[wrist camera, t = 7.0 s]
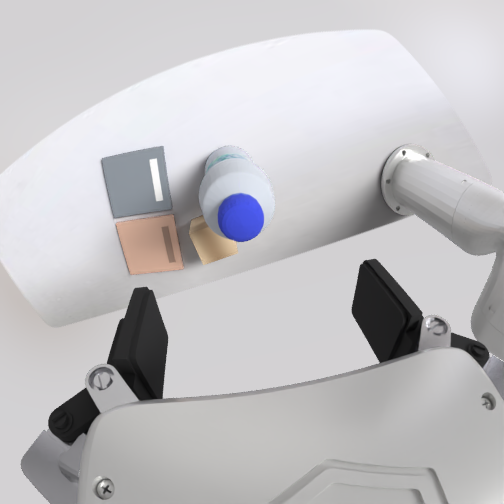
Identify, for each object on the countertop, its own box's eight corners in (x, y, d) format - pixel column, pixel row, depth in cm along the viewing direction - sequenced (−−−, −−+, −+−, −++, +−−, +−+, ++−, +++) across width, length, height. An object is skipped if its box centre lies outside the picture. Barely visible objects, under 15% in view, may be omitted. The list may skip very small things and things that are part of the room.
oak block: (223, 207, 39) (225, 220, 35) (235, 236, 42) (238, 253, 37) (191, 219, 39) (188, 234, 35) (204, 247, 42) (203, 264, 38)
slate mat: (163, 145, 34) (162, 146, 33) (172, 207, 38) (171, 209, 37) (103, 157, 33) (101, 158, 32) (115, 216, 37) (114, 218, 37)
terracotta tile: (173, 214, 39) (172, 216, 38) (183, 267, 43) (183, 269, 42) (117, 222, 38) (115, 224, 37) (131, 272, 42) (130, 275, 42)
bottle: (231, 198, 39) (247, 281, 21) (193, 169, 36) (174, 232, 19) (263, 163, 37) (309, 218, 19) (226, 132, 34) (239, 156, 17)
